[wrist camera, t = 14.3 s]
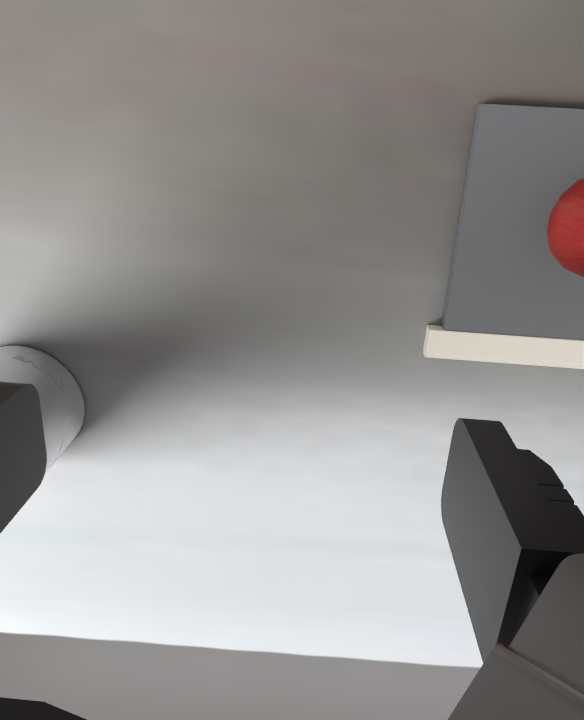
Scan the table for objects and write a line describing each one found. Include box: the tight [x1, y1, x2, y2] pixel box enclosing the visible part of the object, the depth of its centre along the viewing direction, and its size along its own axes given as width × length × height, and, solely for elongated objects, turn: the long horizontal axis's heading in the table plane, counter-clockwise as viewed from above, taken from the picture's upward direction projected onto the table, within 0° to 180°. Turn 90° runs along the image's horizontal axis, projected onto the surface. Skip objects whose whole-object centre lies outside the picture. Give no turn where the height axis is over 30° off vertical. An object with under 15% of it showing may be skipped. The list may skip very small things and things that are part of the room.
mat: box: [423, 104, 584, 369], centre depth 36 cm, size 16×16×1 cm
